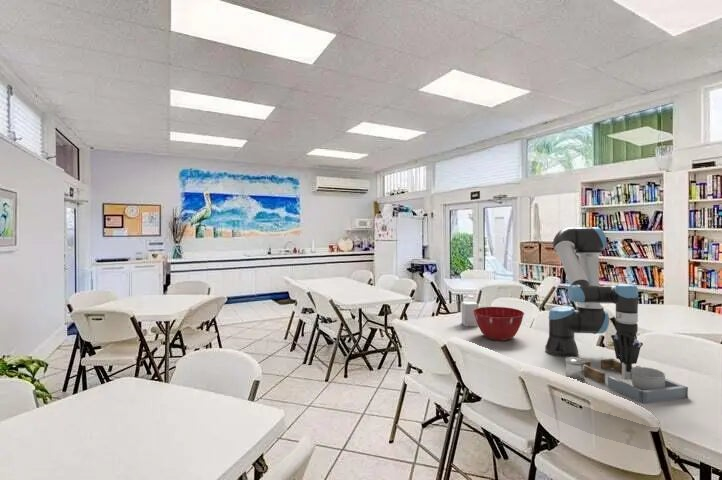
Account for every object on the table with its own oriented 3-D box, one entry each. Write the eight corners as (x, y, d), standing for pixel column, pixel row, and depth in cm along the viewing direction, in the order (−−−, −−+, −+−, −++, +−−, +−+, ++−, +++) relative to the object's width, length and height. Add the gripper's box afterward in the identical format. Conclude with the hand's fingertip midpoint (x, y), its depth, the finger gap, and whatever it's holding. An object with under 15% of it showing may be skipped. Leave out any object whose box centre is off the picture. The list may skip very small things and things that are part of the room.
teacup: (669, 399, 143) (669, 378, 143) (635, 395, 147) (635, 374, 147) (656, 385, 156) (656, 365, 156) (625, 381, 160) (625, 362, 160)
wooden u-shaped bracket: (576, 370, 173) (576, 362, 172) (612, 367, 176) (612, 358, 176) (601, 383, 159) (601, 373, 159) (640, 378, 163) (640, 369, 163)
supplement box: (478, 326, 252) (478, 303, 252) (464, 326, 252) (464, 304, 252) (474, 323, 261) (474, 301, 261) (461, 323, 262) (461, 301, 261)
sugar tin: (561, 375, 168) (561, 357, 168) (575, 373, 169) (575, 356, 169) (573, 381, 161) (573, 363, 160) (589, 380, 162) (589, 362, 162)
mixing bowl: (493, 346, 209) (493, 318, 209) (463, 333, 236) (463, 308, 236) (535, 341, 218) (535, 314, 217) (502, 329, 245) (501, 305, 245)
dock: (607, 386, 155) (607, 376, 155) (648, 381, 159) (648, 372, 159) (643, 403, 140) (643, 392, 140) (687, 397, 144) (687, 387, 144)
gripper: (605, 318, 163) (605, 373, 164) (633, 326, 151) (632, 385, 151) (620, 317, 165) (620, 371, 166) (648, 325, 152) (648, 383, 153)
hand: (626, 378), depth 158 cm, fingers closed
